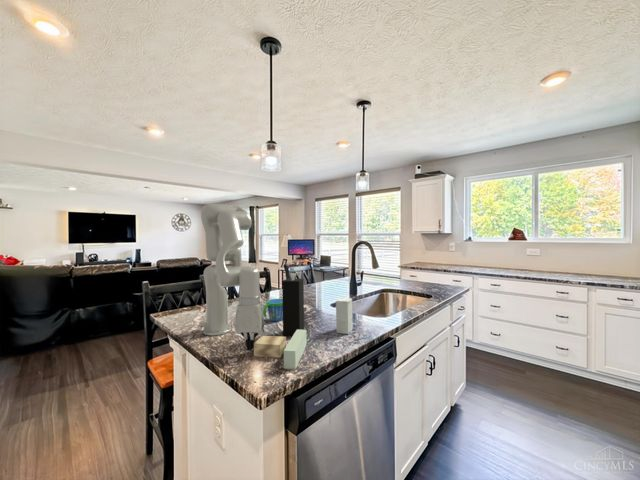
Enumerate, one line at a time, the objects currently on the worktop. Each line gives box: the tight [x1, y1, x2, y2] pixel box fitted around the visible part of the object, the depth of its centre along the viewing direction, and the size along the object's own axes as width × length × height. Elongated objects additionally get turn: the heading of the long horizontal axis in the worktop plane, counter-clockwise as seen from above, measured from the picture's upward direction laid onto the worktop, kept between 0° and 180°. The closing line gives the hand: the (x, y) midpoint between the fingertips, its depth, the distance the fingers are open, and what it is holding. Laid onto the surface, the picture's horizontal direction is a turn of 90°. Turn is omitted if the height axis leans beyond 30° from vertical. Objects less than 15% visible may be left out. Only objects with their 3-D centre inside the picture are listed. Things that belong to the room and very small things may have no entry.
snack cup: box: [263, 298, 283, 322], centre depth 144 cm, size 16×10×10 cm
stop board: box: [283, 329, 307, 370], centre depth 100 cm, size 4×21×6 cm, turn 173°
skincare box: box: [335, 297, 354, 335], centre depth 125 cm, size 8×6×15 cm
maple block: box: [253, 335, 287, 358], centre depth 103 cm, size 10×8×5 cm
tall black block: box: [281, 272, 305, 338], centre depth 122 cm, size 8×8×28 cm
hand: (250, 349), depth 102 cm, fingers closed
